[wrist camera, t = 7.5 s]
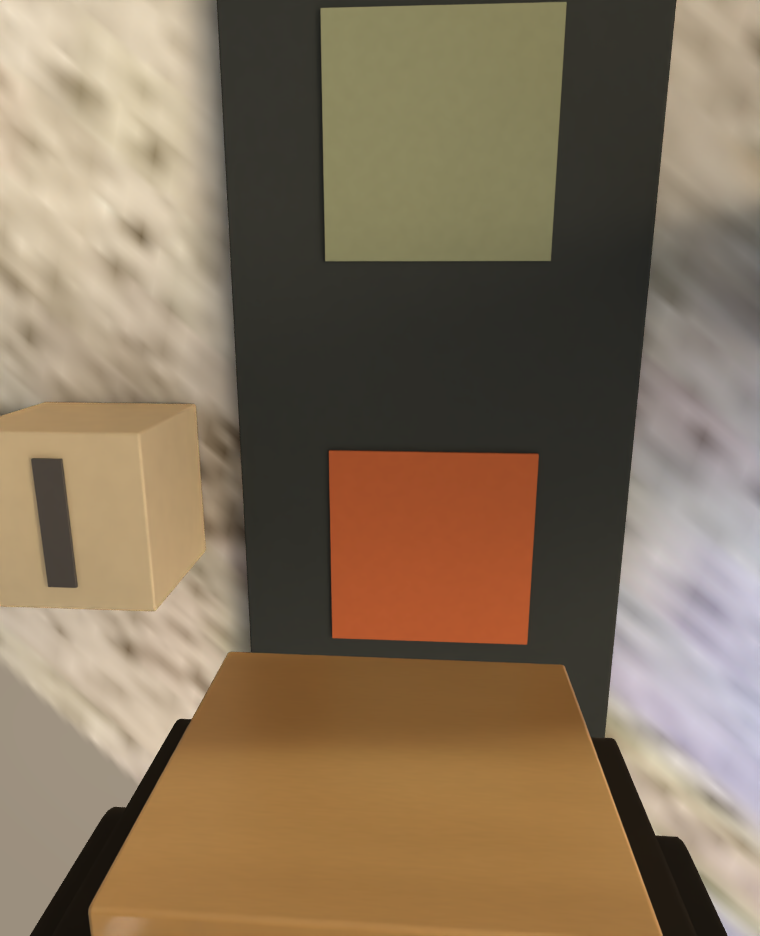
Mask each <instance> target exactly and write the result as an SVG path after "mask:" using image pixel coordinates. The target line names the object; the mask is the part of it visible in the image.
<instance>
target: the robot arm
mask: <svg viewBox="0 0 760 936" xmlns="http://www.w3.org/2000/svg"><path fill="white" fill-rule="evenodd" d="M191 720H192V719H179V720H177V722H176V723H175V724H174V726H173V728H172V729H171V731H170V733H169V734H168V736H167V738H166V740H165V741H164V743H163V745H162V747H161V748H160V750H159V752H158V753H157V755H156V757H155V759H154V760H153V762H152V764H151V765H150V767H149V769H148V771H147V772H146V774H145V776H144V778H143V779H142V781H141V783H140V784H139V786H138V788H137V790H136V791H135V793H134V795H133V797H132V798H131V800H130V802H129V803H128V805H127V807H126V808H125V807H113V808H111V809H110V810H108V811H107V812H106V814H105V815H104V816H103V818H102V819H101V821H100V822H99V824H98V826H97V827H96V829H95V830H94V832H93V834H92V836H91V837H90V839H89V840H88V842H87V843H86V845H85V847H84V848H83V850H82V852H81V853H80V855H79V857H78V858H77V860H76V861H75V863H74V865H73V866H72V868H71V869H70V871H69V873H68V875H67V876H66V878H65V879H64V881H63V883H62V884H61V886H60V887H59V889H58V891H57V892H56V894H55V896H54V897H53V899H52V900H51V902H50V904H49V905H48V907H47V909H46V910H45V912H44V914H43V915H42V917H41V918H40V920H39V922H38V923H37V925H36V926H35V928H34V930H33V932H32V933H31V935H30V936H91V931H90V923H89V915H88V910H89V906H90V904H91V902H92V901H93V899H94V897H95V895H96V893H97V891H98V890H99V888H100V886H101V884H102V882H103V880H104V879H105V877H106V875H107V873H108V871H109V870H110V868H111V866H112V864H113V862H114V860H115V859H116V857H117V855H118V853H119V851H120V849H121V848H122V846H123V844H124V842H125V840H126V838H127V837H128V835H129V833H130V831H131V829H132V827H133V826H134V824H135V822H136V820H137V818H138V817H139V815H140V813H141V811H142V809H143V807H144V806H145V804H146V802H147V800H148V798H149V796H150V795H151V793H152V791H153V789H154V787H155V785H156V784H157V782H158V780H159V778H160V776H161V775H162V773H163V771H164V769H165V767H166V765H167V764H168V762H169V760H170V758H171V756H172V754H173V753H174V751H175V749H176V747H177V745H178V743H179V742H180V740H181V738H182V736H183V734H184V733H185V731H186V729H187V727H188V725H189V723H190V722H191ZM591 740H592V743H593V745H594V748H595V751H596V754H597V756H598V759H599V762H600V765H601V767H602V770H603V773H604V776H605V778H606V781H607V784H608V786H609V789H610V792H611V795H612V797H613V800H614V803H615V806H616V808H617V811H618V814H619V817H620V819H621V822H622V825H623V828H624V830H625V833H626V836H627V838H628V841H629V844H630V847H631V849H632V852H633V855H634V858H635V860H636V863H637V866H638V869H639V871H640V874H641V877H642V880H643V882H644V885H645V888H646V891H647V893H648V896H649V899H650V901H651V904H652V907H653V910H654V912H655V915H656V918H657V921H658V923H659V926H660V929H661V932H662V934H663V936H727V933H726V931H725V929H724V927H723V925H722V923H721V921H720V918H719V916H718V914H717V912H716V910H715V908H714V905H713V903H712V901H711V899H710V897H709V895H708V893H707V890H706V888H705V886H704V884H703V882H702V880H701V878H700V875H699V873H698V871H697V869H696V867H695V865H694V862H693V860H692V858H691V856H690V854H689V852H688V850H687V848H686V846H685V845H684V843H683V841H682V840H680V839H679V838H678V837H670V836H655V833H654V831H653V829H652V826H651V824H650V821H649V819H648V817H647V814H646V812H645V809H644V807H643V805H642V802H641V800H640V798H639V795H638V793H637V790H636V788H635V786H634V783H633V781H632V778H631V776H630V774H629V771H628V769H627V766H626V764H625V762H624V759H623V757H622V754H621V752H620V750H619V747H618V745H617V743H616V741H615V740H614V739H613V738H595V737H591Z"/></svg>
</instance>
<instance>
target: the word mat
mask: <svg viewBox="0 0 760 936" xmlns="http://www.w3.org/2000/svg"><path fill="white" fill-rule="evenodd" d="M675 9H676V0H217V12H218V31H219V50H220V69H221V88H222V107H223V126H224V145H225V164H226V183H227V201H228V220H229V239H230V258H231V277H232V296H233V315H234V334H235V353H236V372H237V390H238V409H239V428H240V447H241V466H242V485H243V504H244V523H245V542H246V561H247V580H248V598H249V617H250V636H251V653H275V654H300V655H326V656H352V657H377V658H403V659H429V660H455V661H480V662H506V663H532V664H558V665H564V666H565V669H566V671H567V674H568V677H569V680H570V682H571V685H572V688H573V691H574V693H575V696H576V699H577V702H578V704H579V707H580V710H581V713H582V715H583V718H584V721H585V723H586V726H587V729H588V732H589V734H590V737H595V738H605V727H606V717H607V707H608V697H609V686H610V676H611V666H612V655H613V645H614V635H615V625H616V614H617V604H618V594H619V584H620V573H621V563H622V553H623V543H624V532H625V522H626V512H627V501H628V491H629V481H630V471H631V460H632V450H633V440H634V430H635V419H636V409H637V399H638V388H639V378H640V368H641V358H642V347H643V337H644V327H645V317H646V306H647V296H648V286H649V276H650V265H651V255H652V245H653V234H654V224H655V214H656V204H657V193H658V183H659V173H660V163H661V152H662V142H663V132H664V121H665V111H666V101H667V91H668V80H669V70H670V60H671V50H672V39H673V29H674V19H675Z"/></svg>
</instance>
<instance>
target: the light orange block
mask: <svg viewBox="0 0 760 936" xmlns="http://www.w3.org/2000/svg"><path fill="white" fill-rule="evenodd" d="M88 915H89V923H90V931H91V936H663V934H662V932H661V929H660V926H659V923H658V921H657V918H656V915H655V912H654V910H653V907H652V904H651V901H650V899H649V896H648V893H647V891H646V888H645V885H644V882H643V880H642V877H641V874H640V871H639V869H638V866H637V863H636V860H635V858H634V855H633V852H632V849H631V847H630V844H629V841H628V838H627V836H626V833H625V830H624V828H623V825H622V822H621V819H620V817H619V814H618V811H617V808H616V806H615V803H614V800H613V797H612V795H611V792H610V789H609V786H608V784H607V781H606V778H605V776H604V773H603V770H602V767H601V765H600V762H599V759H598V756H597V754H596V751H595V748H594V745H593V743H592V740H591V737H590V734H589V732H588V729H587V726H586V723H585V721H584V718H583V715H582V713H581V710H580V707H579V704H578V702H577V699H576V696H575V693H574V691H573V688H572V685H571V682H570V680H569V677H568V674H567V671H566V669H565V666H564V665H558V664H532V663H506V662H480V661H455V660H429V659H403V658H377V657H352V656H326V655H300V654H275V653H249V652H229V653H228V654H227V656H226V658H225V659H224V661H223V663H222V665H221V667H220V669H219V670H218V672H217V674H216V676H215V678H214V680H213V681H212V683H211V685H210V687H209V689H208V690H207V692H206V694H205V696H204V698H203V700H202V701H201V703H200V705H199V707H198V709H197V711H196V712H195V714H194V716H193V718H192V720H191V722H190V723H189V725H188V727H187V729H186V731H185V733H184V734H183V736H182V738H181V740H180V742H179V743H178V745H177V747H176V749H175V751H174V753H173V754H172V756H171V758H170V760H169V762H168V764H167V765H166V767H165V769H164V771H163V773H162V775H161V776H160V778H159V780H158V782H157V784H156V785H155V787H154V789H153V791H152V793H151V795H150V796H149V798H148V800H147V802H146V804H145V806H144V807H143V809H142V811H141V813H140V815H139V817H138V818H137V820H136V822H135V824H134V826H133V827H132V829H131V831H130V833H129V835H128V837H127V838H126V840H125V842H124V844H123V846H122V848H121V849H120V851H119V853H118V855H117V857H116V859H115V860H114V862H113V864H112V866H111V868H110V870H109V871H108V873H107V875H106V877H105V879H104V880H103V882H102V884H101V886H100V888H99V890H98V891H97V893H96V895H95V897H94V899H93V901H92V902H91V904H90V906H89V910H88Z"/></svg>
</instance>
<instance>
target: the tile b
mask: <svg viewBox="0 0 760 936" xmlns="http://www.w3.org/2000/svg"><path fill="white" fill-rule="evenodd" d="M205 550H206V547H205V532H204V518H203V503H202V489H201V474H200V460H199V445H198V431H197V416H196V405H195V404H156V403H73V402H44V403H41V404H38V405H34V406H31V407H28V408H25V409H21V410H18V411H15V412H12V413H8V414H5V415H2V416H0V606H2V607H34V608H65V609H97V610H128V611H156V610H157V609H158V607H159V606H160V605H161V604H162V603H163V601H164V600H165V599H166V598H167V596H168V595H169V594H170V593H171V592H172V590H173V589H174V588H175V587H176V586H177V584H178V583H179V582H180V581H181V580H182V578H183V577H184V576H185V575H186V574H187V572H188V571H189V570H190V569H191V568H192V566H193V565H194V564H195V563H196V562H197V560H198V559H199V558H200V557H201V556H202V554H203V553H204V552H205Z"/></svg>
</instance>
